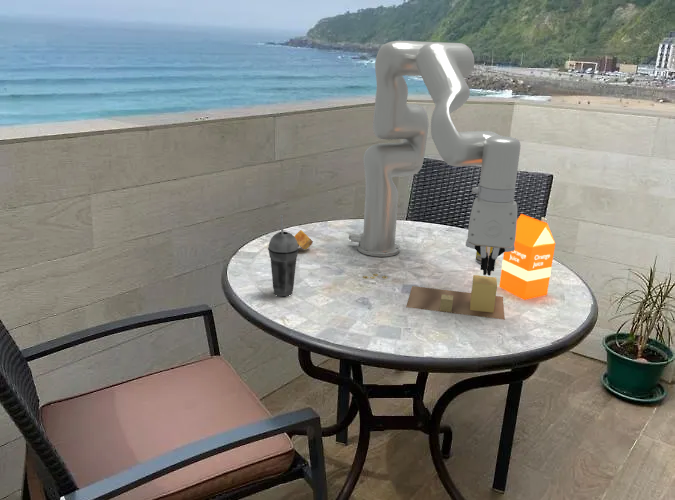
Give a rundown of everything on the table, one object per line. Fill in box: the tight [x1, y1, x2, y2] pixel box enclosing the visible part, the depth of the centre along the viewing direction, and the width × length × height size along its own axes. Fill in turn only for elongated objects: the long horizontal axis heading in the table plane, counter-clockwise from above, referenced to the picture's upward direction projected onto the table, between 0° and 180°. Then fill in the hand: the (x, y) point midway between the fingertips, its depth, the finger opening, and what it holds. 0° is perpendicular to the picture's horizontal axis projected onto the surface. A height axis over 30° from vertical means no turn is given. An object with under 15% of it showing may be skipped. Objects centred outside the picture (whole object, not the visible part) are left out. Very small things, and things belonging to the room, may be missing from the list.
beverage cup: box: [267, 214, 300, 297], centre depth 139 cm, size 7×7×20 cm
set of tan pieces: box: [362, 273, 388, 279], centre depth 152 cm, size 5×5×2 cm
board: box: [405, 285, 506, 321], centre depth 139 cm, size 22×13×1 cm, turn 77°
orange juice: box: [499, 213, 556, 301], centre depth 143 cm, size 8×9×20 cm
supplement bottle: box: [475, 246, 493, 265], centre depth 167 cm, size 5×5×10 cm
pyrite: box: [293, 229, 314, 250], centre depth 172 cm, size 5×7×4 cm
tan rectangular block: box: [470, 274, 498, 313], centre depth 135 cm, size 5×5×7 cm
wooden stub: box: [439, 295, 453, 313], centre depth 134 cm, size 3×3×3 cm
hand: (486, 273), depth 133 cm, fingers closed
